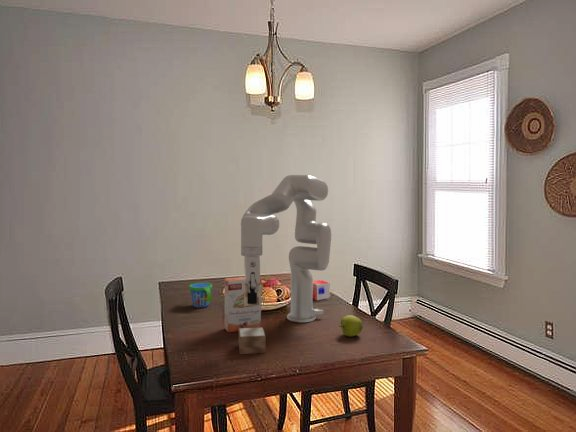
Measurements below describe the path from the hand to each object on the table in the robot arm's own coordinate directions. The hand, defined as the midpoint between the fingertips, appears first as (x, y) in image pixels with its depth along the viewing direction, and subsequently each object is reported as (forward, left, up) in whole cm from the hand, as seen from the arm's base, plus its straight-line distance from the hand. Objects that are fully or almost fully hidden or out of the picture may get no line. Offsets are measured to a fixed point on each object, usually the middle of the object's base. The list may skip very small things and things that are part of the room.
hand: (251, 300), depth 163 cm
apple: (-39, -8, -18) cm, 44 cm away
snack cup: (+20, -57, -18) cm, 63 cm away
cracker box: (+2, -22, -18) cm, 28 cm away
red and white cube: (-39, -65, -18) cm, 78 cm away
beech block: (0, 0, -1) cm, 1 cm away
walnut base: (0, 0, -18) cm, 18 cm away
